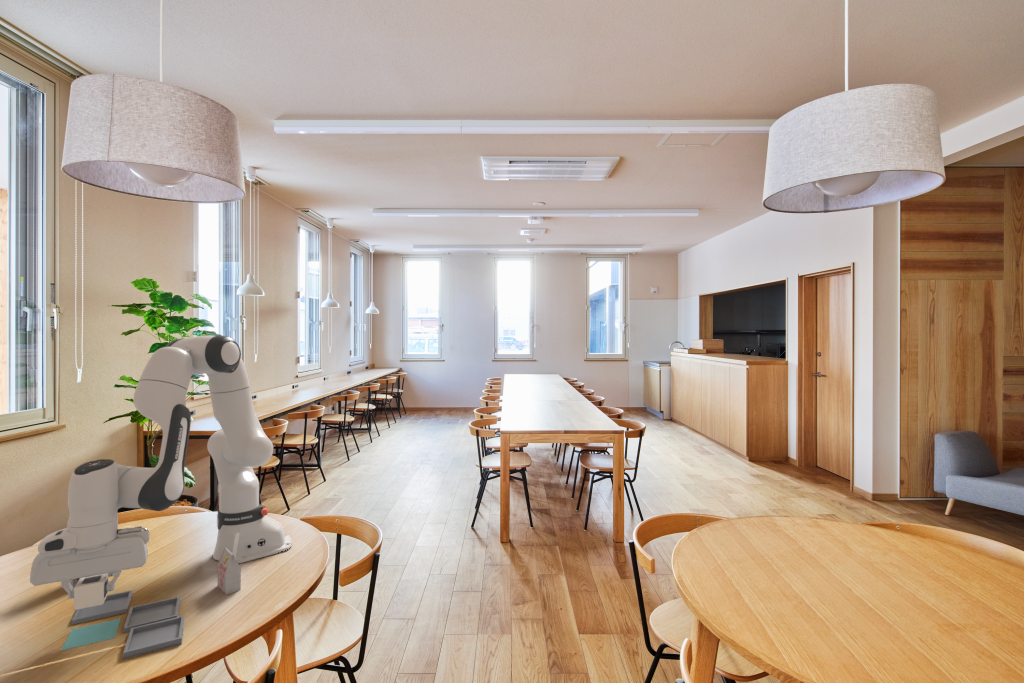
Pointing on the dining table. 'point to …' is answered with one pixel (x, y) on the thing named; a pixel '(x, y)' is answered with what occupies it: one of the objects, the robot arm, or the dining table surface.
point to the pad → (91, 634)
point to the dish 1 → (104, 608)
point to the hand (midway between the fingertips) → (91, 593)
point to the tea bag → (229, 573)
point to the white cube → (90, 591)
